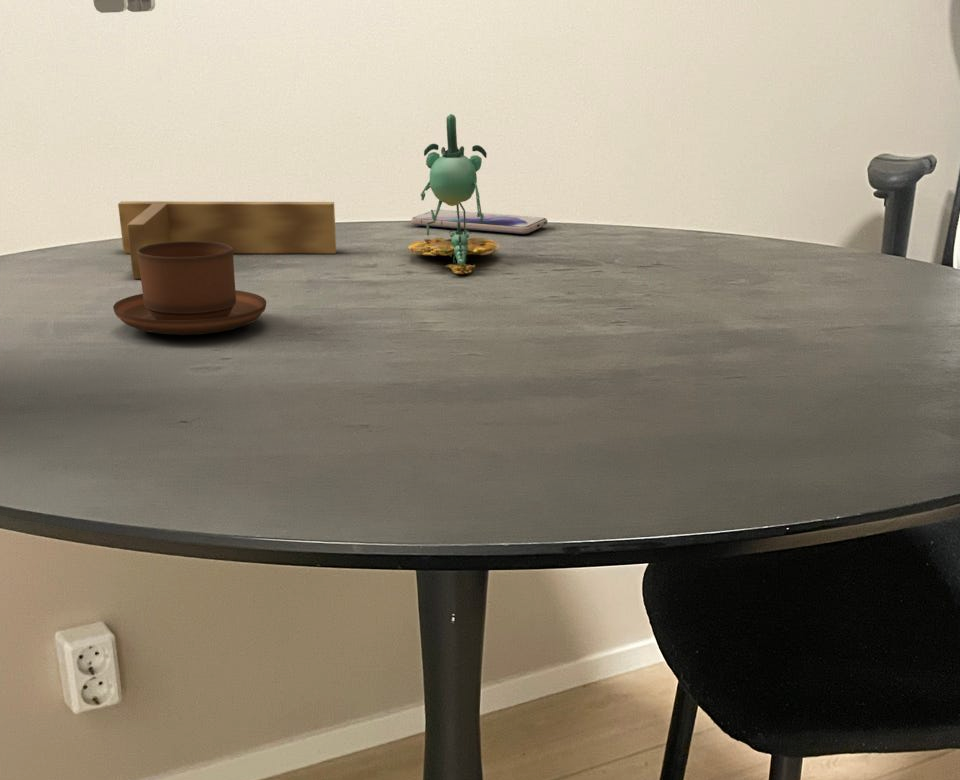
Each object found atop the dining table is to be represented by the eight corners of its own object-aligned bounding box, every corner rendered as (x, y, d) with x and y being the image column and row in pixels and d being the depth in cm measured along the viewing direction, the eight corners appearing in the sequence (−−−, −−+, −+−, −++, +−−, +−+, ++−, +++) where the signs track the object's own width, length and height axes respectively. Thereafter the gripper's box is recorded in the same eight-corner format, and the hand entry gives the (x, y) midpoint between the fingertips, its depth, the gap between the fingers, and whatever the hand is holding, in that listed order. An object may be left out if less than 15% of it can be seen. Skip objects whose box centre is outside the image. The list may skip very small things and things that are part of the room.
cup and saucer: (90, 324, 102) (79, 246, 99) (219, 305, 109) (213, 231, 106) (161, 353, 93) (152, 269, 91) (296, 330, 101) (292, 251, 98)
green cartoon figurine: (386, 274, 122) (384, 109, 116) (422, 262, 138) (421, 117, 133) (484, 277, 120) (486, 110, 115) (508, 264, 137) (511, 118, 132)
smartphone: (527, 227, 142) (409, 218, 147) (526, 236, 142) (409, 226, 148) (549, 217, 148) (435, 208, 153) (549, 225, 148) (435, 216, 153)
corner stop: (95, 279, 118) (88, 224, 116) (126, 251, 131) (120, 201, 129) (329, 279, 119) (327, 224, 117) (336, 251, 133) (334, 201, 130)
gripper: (75, -219, 83) (111, 13, 90) (-16, -281, 65) (37, 15, 71) (170, -223, 84) (200, 9, 90) (106, -286, 65) (148, 10, 72)
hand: (127, 12), depth 80 cm, fingers open, 8 cm apart
